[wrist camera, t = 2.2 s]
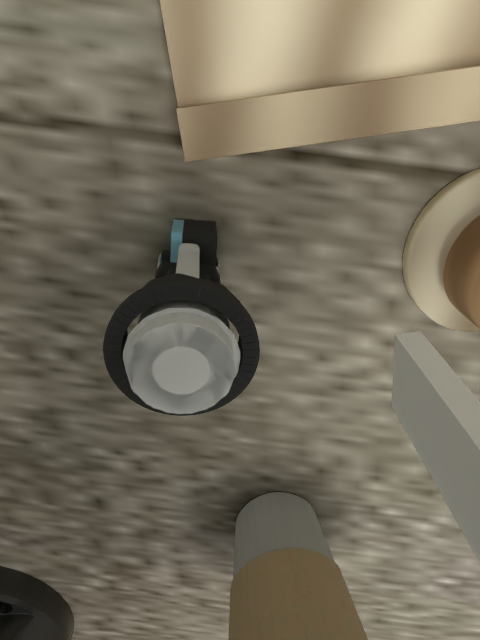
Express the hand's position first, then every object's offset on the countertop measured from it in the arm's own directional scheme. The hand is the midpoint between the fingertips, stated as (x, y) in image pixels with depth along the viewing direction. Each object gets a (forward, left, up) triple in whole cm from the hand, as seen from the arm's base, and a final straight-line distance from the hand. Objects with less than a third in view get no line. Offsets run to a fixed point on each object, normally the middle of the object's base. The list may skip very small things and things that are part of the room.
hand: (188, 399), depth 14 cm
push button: (0, 0, -11) cm, 11 cm away
